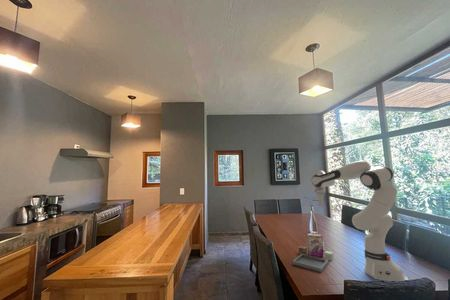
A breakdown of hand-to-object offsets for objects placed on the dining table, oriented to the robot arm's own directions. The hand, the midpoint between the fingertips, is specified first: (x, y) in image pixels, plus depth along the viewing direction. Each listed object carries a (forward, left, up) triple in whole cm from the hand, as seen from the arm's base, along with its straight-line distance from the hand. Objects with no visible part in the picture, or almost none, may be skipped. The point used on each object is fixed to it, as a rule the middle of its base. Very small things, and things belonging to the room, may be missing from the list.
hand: (320, 206), depth 173 cm
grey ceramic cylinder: (+5, -9, -39) cm, 40 cm away
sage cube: (-5, +6, -39) cm, 40 cm away
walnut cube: (+15, +7, -39) cm, 42 cm away
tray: (+3, +24, -39) cm, 46 cm away
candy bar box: (+5, +6, -39) cm, 40 cm away
